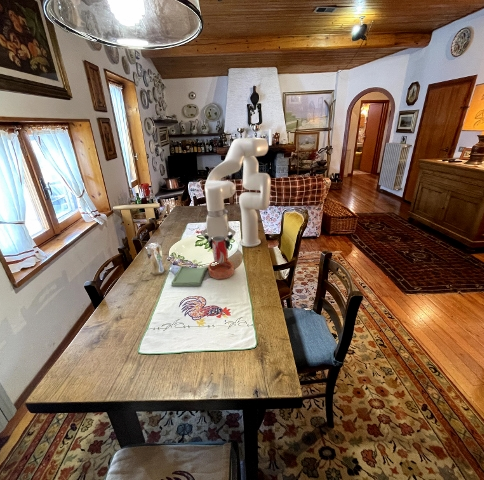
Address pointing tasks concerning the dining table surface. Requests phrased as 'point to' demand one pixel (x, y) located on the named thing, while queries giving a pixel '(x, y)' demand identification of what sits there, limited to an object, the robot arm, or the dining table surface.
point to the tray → (188, 276)
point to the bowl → (221, 270)
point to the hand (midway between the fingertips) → (219, 247)
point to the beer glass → (155, 258)
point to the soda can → (219, 249)
